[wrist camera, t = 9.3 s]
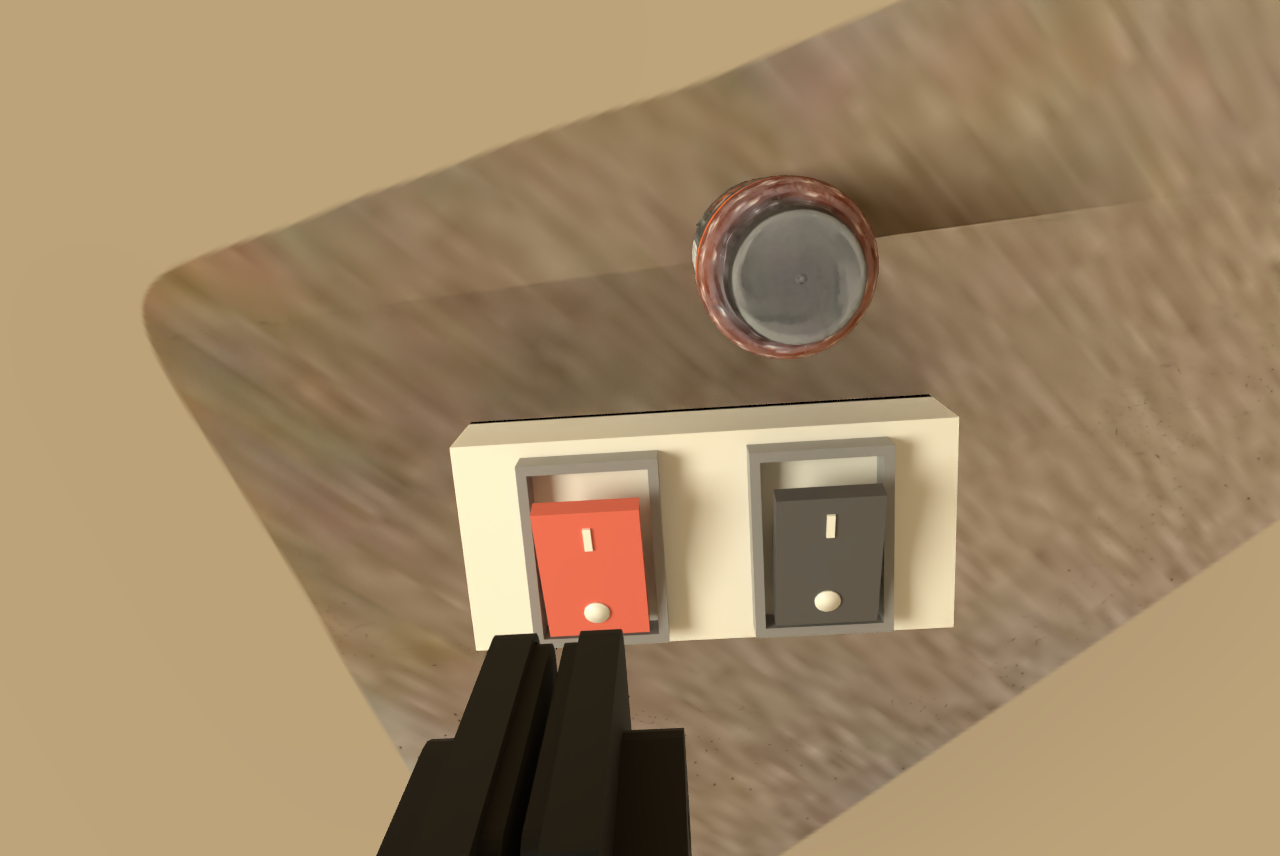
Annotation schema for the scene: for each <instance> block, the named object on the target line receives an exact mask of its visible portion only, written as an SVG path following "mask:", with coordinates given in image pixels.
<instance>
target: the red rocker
mask: <svg viewBox="0 0 1280 856" xmlns="http://www.w3.org/2000/svg"><path fill="white" fill-rule="evenodd" d="M530 520H531V526H532V532H533V538H534V543H535V549H536V555H537V561H538V567H539V573H540V578H541V584H542V590H543V596H544V602H545V608H546V613H547V619H548V625H549V631H550V637H556V636H576V635H579V634H580V631H589V630H609V629H622V631H623V633H636V632H650V614H649V603H648V592H647V581H646V571H645V560H644V549H643V538H642V527H641V516H640V505H639V497H636V498H619V499H601V500H584V501H566V502H548V503H532V508H531V513H530Z"/></svg>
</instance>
